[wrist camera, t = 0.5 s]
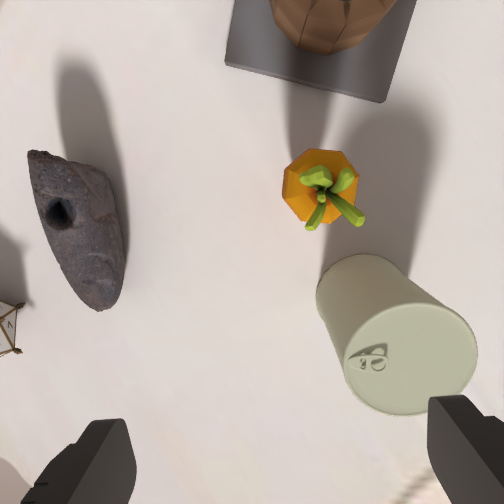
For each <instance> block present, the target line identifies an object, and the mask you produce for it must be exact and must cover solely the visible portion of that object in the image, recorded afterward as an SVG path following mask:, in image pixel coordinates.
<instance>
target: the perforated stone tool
mask: <svg viewBox="0 0 504 504" xmlns="http://www.w3.org/2000/svg"><path fill="white" fill-rule="evenodd" d="M27 158H28V165H29V173H30V179H31V185H32V189H33V194H34V198H35V203H36V206H37V210H38V214H39V217H40V220H41V223H42V226H43V229H44V231H45V235H46V237H47V239H48V242H49V245H50V247H51V249H52V252H53V254H54V256H55V258H56V260H57V261H58V263H59V264H60V268H61V270H62V272H63V273H64V275H65V277H66V279H67V281H68V282H69V284H70V285H71V287H72V288H73V290H74V291H75V293H76V294H77V295H78V297H79V298H80V299H81V300H82V301H83V302H84V303H85V304H86V305H88V306H89V307H90V308H92V309H94V310H96V311H97V312H99V311H103V310H105V309H106V310H107V309H110V308H111V307H112V306H113V305H114V304H115V303H116V302H117V300H118V298H119V296H120V293H121V289H122V285H123V280H124V269H125V261H124V252H123V244H122V237H121V232H120V226H119V221H118V215H117V211H116V207H115V200H114V196H113V192H112V188H111V185H110V181H109V179H108V178H107V177H106V174H105V173H104V172H101V171H99V170H98V169H96V168H95V167H92V166H89V165H84V164H80V163H77V162H72V161H71V162H70V161H66V160H65V159H63V158H61V157H59V156H54V155H51V154H50V153H48V152H47V151H38V150H30V151H28V153H27Z"/></svg>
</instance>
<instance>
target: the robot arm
mask: <svg viewBox="0 0 504 504" xmlns="http://www.w3.org/2000/svg"><path fill="white" fill-rule="evenodd" d="M427 450H428V455H429V459H430V462H431V465H432V468H433V470H434V472H435V474H436V476H437V478H438V480H439V482H440V483H441V485H442V487H443V489H444V491H445V492H446V494H447V496H448V498H449V499H450V501H451V503H452V504H504V422H502V421H501V420H499V419H498V418H496V417H495V416H485V417H484V416H483V414H482V413H481V412H480V411H479V410H478V409H477V408H476V407H475V405H474V404H473V403H472V402H471V401H470V400H469V399H468V398H467V397H466V396H464V395H447V396H434V397H430V398H429V401H428V424H427ZM136 473H137V466H136V460H135V456H134V453H133V449H132V445H131V441H130V437H129V433H128V430H127V426H126V423H125V421H124V420H123V419H121V418H119V419H105V420H94V421H92V422H91V423H90V424H89V425H88V426H87V428H86V429H85V431H84V432H83V433H82V435H81V436H80V438H79V439H78V441H77V442H76V443H74V444H69V445H68V446H67V447H66V448H65V449H64V450H63V451H62V452H60V453H59V454H58V455H57V456H56V457H55V458H54V459H53V460H51V461H50V462H49V464H48V465H47V466H46V468H45V469H44V471H43V472H42V473H41V475H40V476H39V477H38V479H37V480H36V482H35V483H34V487H33V488H30V490H29V491H28V493H27V494H26V495H25V497H24V498H23V499H22V501H21V504H128V502H129V499H130V497H131V495H132V492H133V489H134V486H135V481H136Z"/></svg>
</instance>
